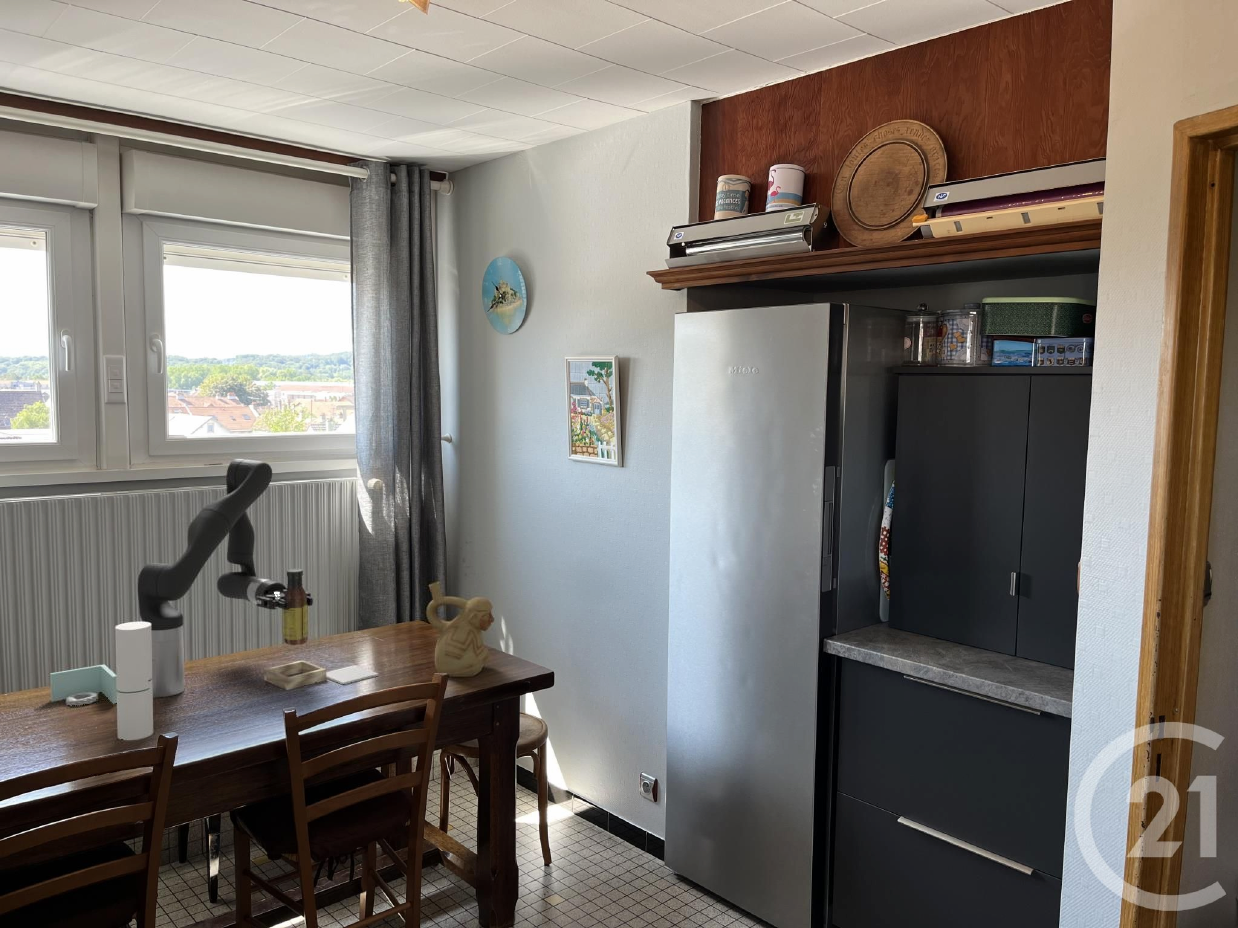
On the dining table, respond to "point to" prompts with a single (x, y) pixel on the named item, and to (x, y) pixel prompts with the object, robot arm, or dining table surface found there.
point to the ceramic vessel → (460, 634)
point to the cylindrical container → (134, 680)
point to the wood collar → (282, 672)
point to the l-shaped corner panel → (83, 685)
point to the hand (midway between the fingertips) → (299, 603)
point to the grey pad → (350, 674)
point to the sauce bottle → (295, 610)
